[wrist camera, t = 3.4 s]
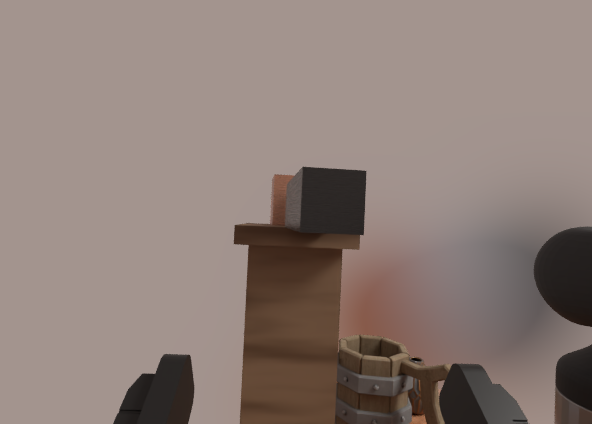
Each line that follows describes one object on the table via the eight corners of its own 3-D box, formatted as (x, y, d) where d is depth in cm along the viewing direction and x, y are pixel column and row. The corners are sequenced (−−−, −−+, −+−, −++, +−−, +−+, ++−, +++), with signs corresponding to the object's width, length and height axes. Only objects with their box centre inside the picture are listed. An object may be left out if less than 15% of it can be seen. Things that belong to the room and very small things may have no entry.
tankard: (310, 431, 55) (314, 333, 55) (364, 407, 62) (368, 322, 63) (427, 521, 39) (433, 385, 39) (480, 474, 47) (484, 361, 47)
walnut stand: (342, 639, 28) (360, 230, 28) (213, 640, 27) (234, 225, 28) (323, 511, 40) (336, 227, 40) (234, 510, 39) (248, 223, 40)
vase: (421, 424, 58) (423, 370, 58) (386, 405, 63) (388, 356, 63) (442, 411, 62) (444, 361, 62) (408, 395, 68) (410, 349, 68)
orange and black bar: (377, 235, 19) (380, 144, 19) (285, 231, 19) (290, 138, 19) (312, 225, 41) (314, 183, 41) (269, 224, 40) (271, 180, 41)
